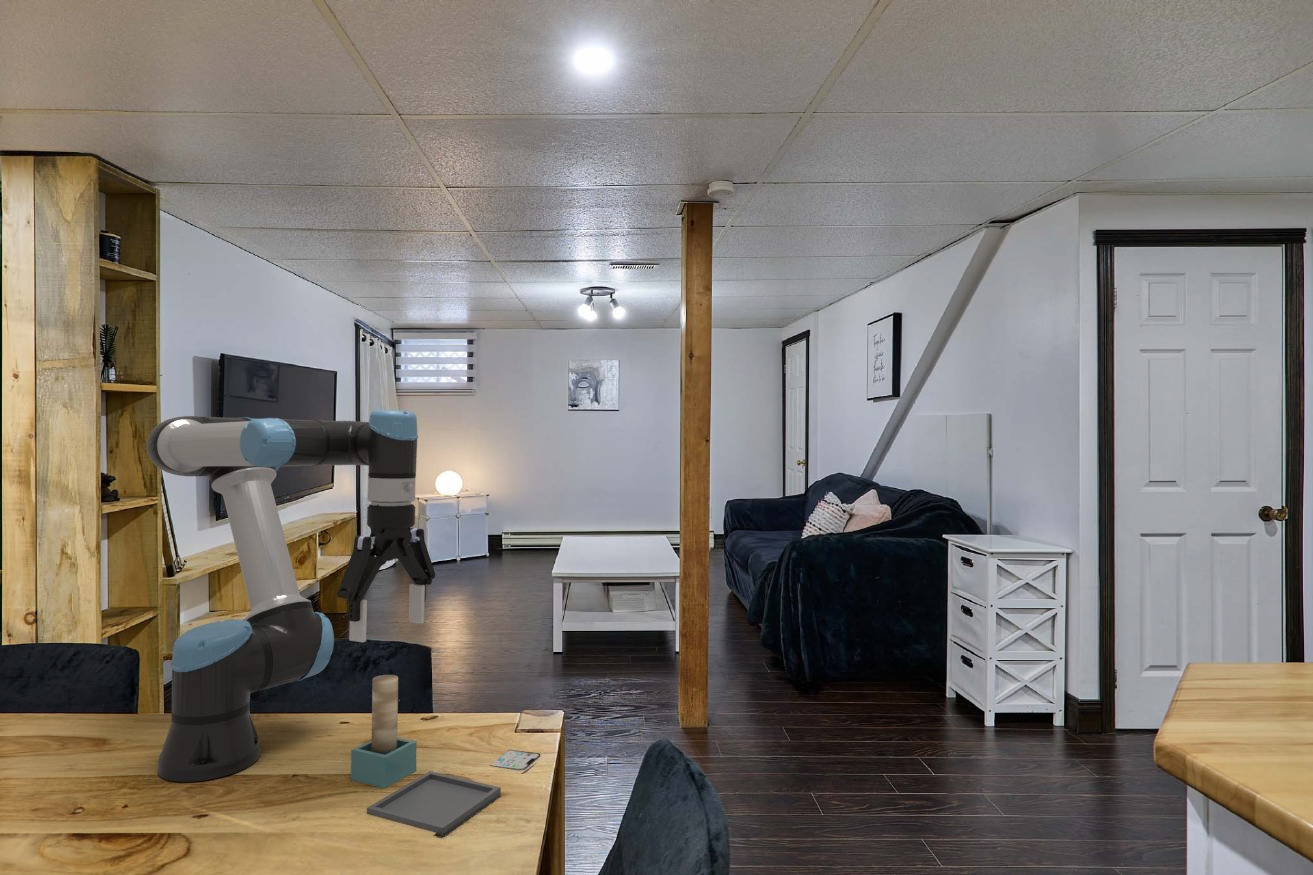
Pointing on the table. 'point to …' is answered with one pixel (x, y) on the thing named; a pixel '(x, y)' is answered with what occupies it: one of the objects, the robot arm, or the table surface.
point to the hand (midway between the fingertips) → (388, 631)
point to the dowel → (384, 714)
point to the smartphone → (516, 760)
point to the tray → (436, 802)
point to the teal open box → (383, 764)
